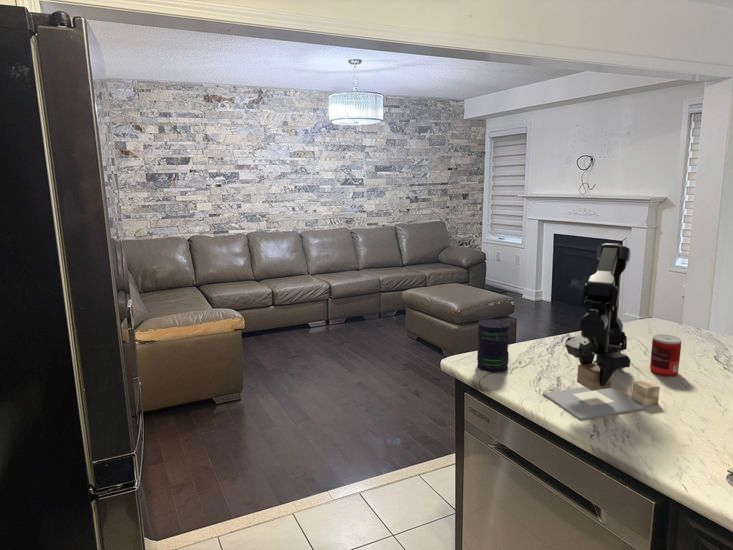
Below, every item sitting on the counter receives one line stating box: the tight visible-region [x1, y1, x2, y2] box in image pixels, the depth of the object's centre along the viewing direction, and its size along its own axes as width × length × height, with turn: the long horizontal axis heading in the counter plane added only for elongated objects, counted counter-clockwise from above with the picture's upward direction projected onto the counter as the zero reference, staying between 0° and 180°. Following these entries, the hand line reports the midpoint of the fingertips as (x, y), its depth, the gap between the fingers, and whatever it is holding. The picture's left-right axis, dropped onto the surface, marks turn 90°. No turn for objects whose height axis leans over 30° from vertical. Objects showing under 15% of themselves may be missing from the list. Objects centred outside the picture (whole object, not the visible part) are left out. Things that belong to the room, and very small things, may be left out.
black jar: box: [476, 318, 510, 374], centre depth 162 cm, size 10×10×15 cm
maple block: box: [631, 379, 661, 407], centre depth 137 cm, size 4×4×5 cm
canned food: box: [649, 333, 682, 377], centre depth 156 cm, size 8×8×11 cm
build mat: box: [542, 386, 647, 421], centre depth 138 cm, size 20×16×1 cm
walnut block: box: [576, 362, 613, 391], centre depth 138 cm, size 6×6×5 cm
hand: (594, 381), depth 138 cm, fingers closed on walnut block, 6 cm apart
